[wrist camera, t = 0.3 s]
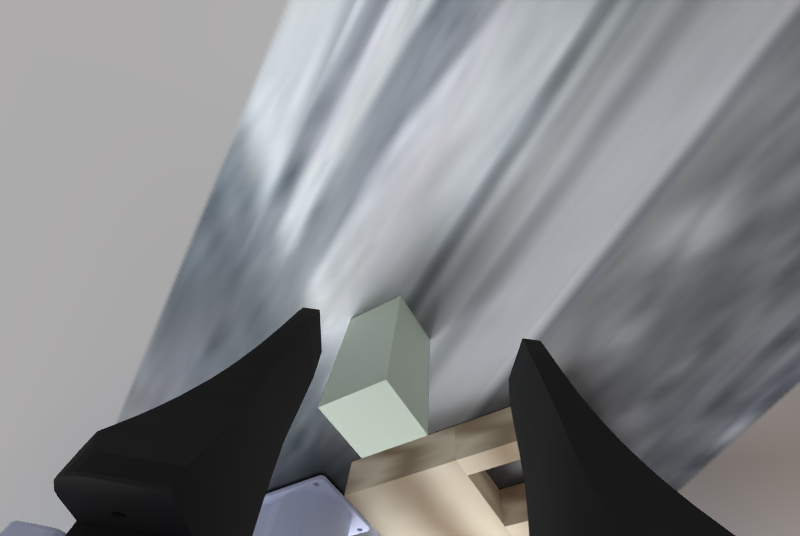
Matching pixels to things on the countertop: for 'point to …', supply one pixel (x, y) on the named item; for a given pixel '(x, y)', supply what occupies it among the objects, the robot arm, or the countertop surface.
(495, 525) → the socket rail
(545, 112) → the countertop surface
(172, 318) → the countertop surface
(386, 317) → the square peg
